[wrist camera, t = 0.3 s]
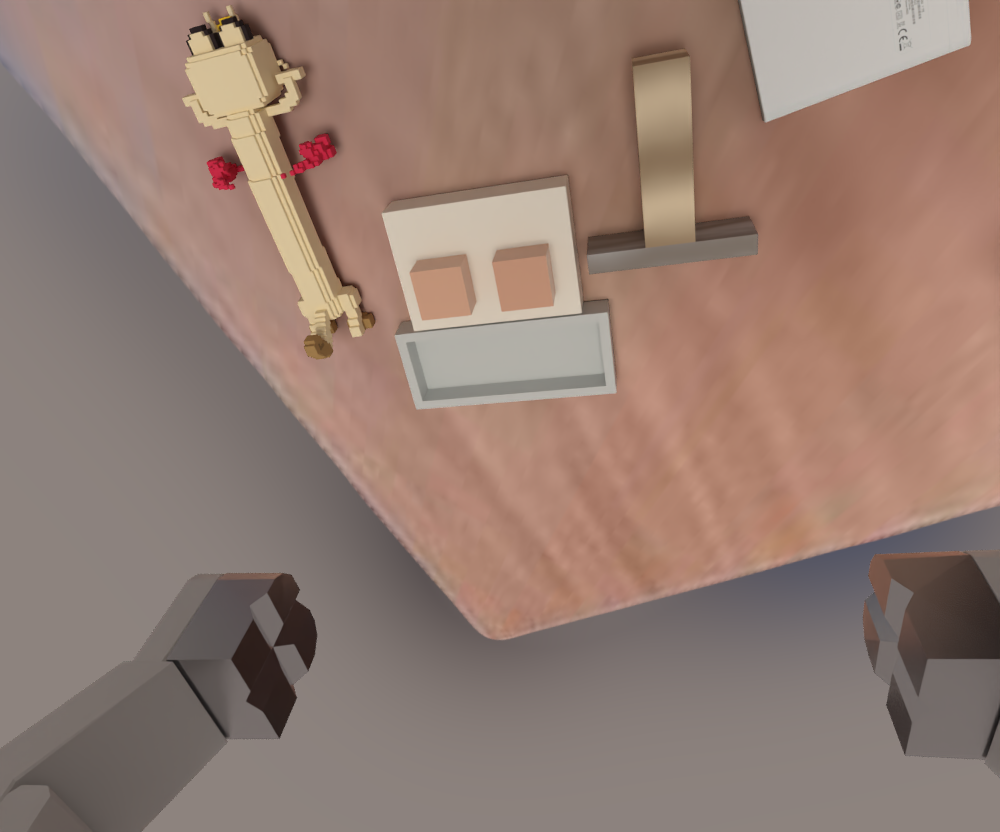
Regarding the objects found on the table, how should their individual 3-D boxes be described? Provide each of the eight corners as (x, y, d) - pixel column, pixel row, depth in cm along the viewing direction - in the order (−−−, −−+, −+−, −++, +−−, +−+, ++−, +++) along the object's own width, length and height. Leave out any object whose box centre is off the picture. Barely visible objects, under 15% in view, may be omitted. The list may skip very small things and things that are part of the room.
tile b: (496, 249, 52) (491, 262, 50) (548, 243, 51) (545, 255, 49) (505, 298, 54) (501, 311, 52) (555, 292, 54) (553, 306, 51)
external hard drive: (735, -8, 44) (952, -104, 40) (761, 119, 48) (962, 43, 44) (738, -6, 43) (964, -106, 39) (765, 124, 47) (972, 46, 43)
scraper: (569, 69, 48) (566, 78, 44) (751, 36, 45) (762, 43, 42) (590, 254, 55) (589, 274, 51) (748, 235, 52) (757, 254, 49)
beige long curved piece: (402, 308, 61) (287, -12, 46) (377, 363, 54) (233, 9, 40) (302, 323, 64) (162, 23, 49) (266, 378, 57) (91, 49, 42)
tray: (401, 322, 60) (394, 335, 58) (608, 299, 56) (607, 312, 54) (422, 394, 64) (416, 409, 62) (616, 378, 61) (616, 393, 58)
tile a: (417, 260, 54) (409, 272, 52) (466, 253, 53) (460, 266, 51) (429, 306, 56) (422, 320, 54) (476, 301, 55) (471, 315, 53)
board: (392, 201, 54) (381, 213, 52) (567, 174, 51) (565, 186, 49) (422, 315, 60) (414, 331, 57) (583, 297, 57) (581, 313, 54)
